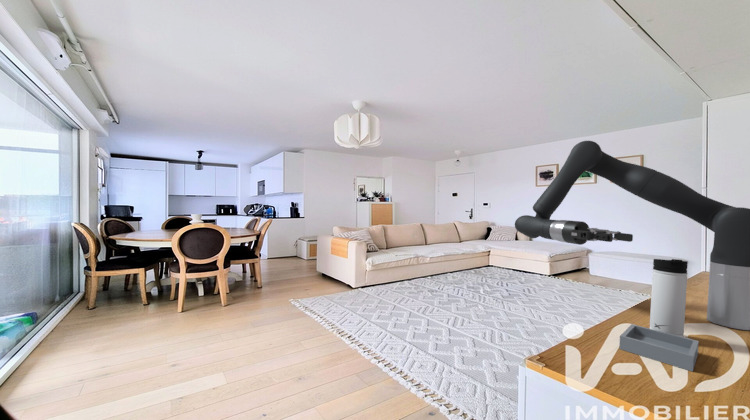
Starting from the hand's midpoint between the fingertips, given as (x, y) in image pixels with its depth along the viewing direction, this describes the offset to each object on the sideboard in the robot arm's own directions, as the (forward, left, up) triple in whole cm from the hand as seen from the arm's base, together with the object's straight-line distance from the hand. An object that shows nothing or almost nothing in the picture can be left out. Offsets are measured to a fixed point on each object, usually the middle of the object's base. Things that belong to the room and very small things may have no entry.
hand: (622, 238), depth 87 cm
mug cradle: (+6, +19, -24) cm, 31 cm away
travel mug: (-4, +11, -24) cm, 26 cm away
